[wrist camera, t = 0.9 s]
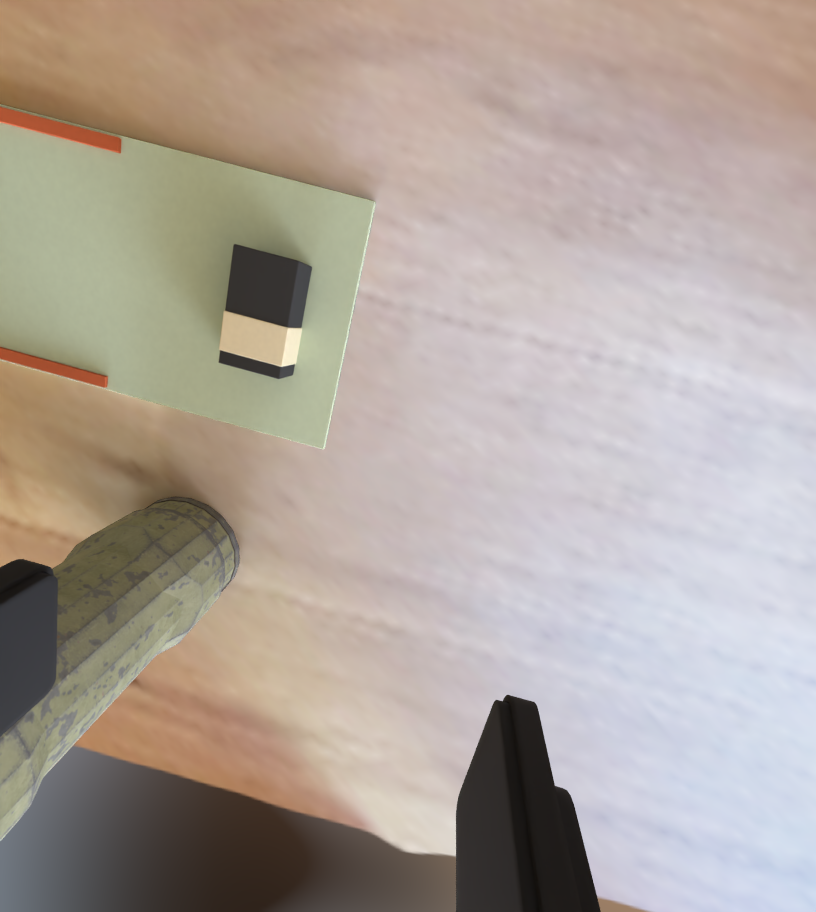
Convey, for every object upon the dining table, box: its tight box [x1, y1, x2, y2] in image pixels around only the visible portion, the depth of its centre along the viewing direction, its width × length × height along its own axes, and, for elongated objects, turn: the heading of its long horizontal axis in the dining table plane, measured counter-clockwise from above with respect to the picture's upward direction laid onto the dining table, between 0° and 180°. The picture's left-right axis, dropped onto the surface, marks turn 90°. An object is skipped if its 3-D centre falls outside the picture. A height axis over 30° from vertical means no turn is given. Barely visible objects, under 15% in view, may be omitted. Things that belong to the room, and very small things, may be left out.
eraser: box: [219, 244, 312, 379], centre depth 28 cm, size 7×4×3 cm, turn 166°
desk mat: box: [0, 104, 376, 449], centre depth 30 cm, size 16×28×1 cm, turn 76°
